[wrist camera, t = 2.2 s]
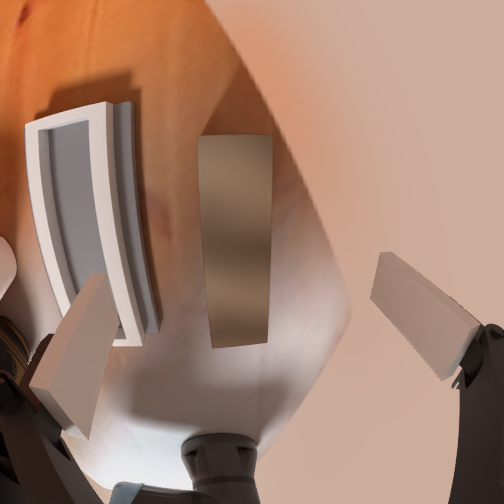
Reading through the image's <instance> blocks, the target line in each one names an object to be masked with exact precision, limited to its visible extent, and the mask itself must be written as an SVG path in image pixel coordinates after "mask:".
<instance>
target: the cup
mask: <svg viewBox="0 0 504 504" xmlns="http://www.w3.org/2000/svg"><path fill="white" fill-rule="evenodd" d="M16 271H17V265H16V259H15V256H14V253H13V251H12V249H11V247H10V245H9V244H8V242H7V241H6V240H5V239H4V238H3V237H1V236H0V300H1V298H2V297H3V295H4V293H5V292H6V290H7V289H8V287H9V286H10V284H11V283H12V281H13V280H14V278H15V276H16Z"/></svg>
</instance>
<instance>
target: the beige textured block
mask: <svg viewBox="0 0 504 504" xmlns="http://www.w3.org/2000/svg"><path fill="white" fill-rule="evenodd" d="M197 141H198V176H199V199H200V217H201V234H202V248H203V261H204V273H205V285H206V295H207V305H208V315H209V324H210V333H211V342H212V348H224V347H234V346H244V345H253V344H261V343H267V338H268V315H269V289H270V260H271V224H272V173H273V135H207V136H197Z"/></svg>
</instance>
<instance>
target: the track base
mask: <svg viewBox="0 0 504 504" xmlns="http://www.w3.org/2000/svg"><path fill="white" fill-rule="evenodd" d="M24 137H25V158H26V170H27V180H28V188H29V196H30V202H31V208H32V214H33V219H34V224H35V229H36V234H37V238H38V242H39V247H40V251H41V254H42V258H43V262H44V265H45V269H46V272H47V275H48V279H49V282H50V285H51V288H52V291H53V294H54V297H55V300H56V302H57V305H58V308H59V310H60V313H61V316H62V318H64V316H65V314H66V313H67V311H68V309H69V308H70V306H71V304H72V303H73V301H74V300H75V298H76V296H77V295H78V293H79V292H80V290H81V288H82V287H83V285H84V284H85V282H86V281H87V279H88V278H89V276H90V275H91V274H96V273H106V276H107V280H108V284H109V288H110V291H111V295H112V298H113V302H114V305H115V309H116V312H117V315H118V318H119V322H120V324H119V327H118V330H117V333H116V336H115V339H114V342H113V345H112V346H143V343H144V338H145V334H159V331H160V323H159V318H158V314H157V309H156V305H155V300H154V295H153V290H152V285H151V279H150V274H149V268H148V262H147V256H146V249H145V243H144V236H143V228H142V220H141V212H140V203H139V192H138V181H137V167H136V150H135V103H133V102H131V101H128V102H122V103H116V104H112V103H109V102H106V101H105V102H100V103H96V104H91V105H87V106H83V107H79V108H75V109H71V110H68V111H64V112H60V113H57V114H54V115H50V116H47V117H44V118H41V119H38V120H35V121H32V122H30V123H27V124H25V128H24Z"/></svg>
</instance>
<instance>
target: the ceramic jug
mask: <svg viewBox="0 0 504 504" xmlns="http://www.w3.org/2000/svg"><path fill="white" fill-rule="evenodd" d="M29 360H30V353H29V350H28V347H27V345H26V342H25V340H24V338H23V337H22V336H21V334H20V333H19V332H18V330H17V329H16V328H15V326H14V325H13V324H12V322H11V321H10V320H9V319H7V318H6V317H3V316H0V370H6V371H7V372H9V373H10V374H11V376H12V377H13V379H14V380H15V381H16V383H17V384H18V385H19V383H20V381H21V379H22V377H23V375H24V373H25V371H26V369H27V367H28V363H29Z"/></svg>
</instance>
